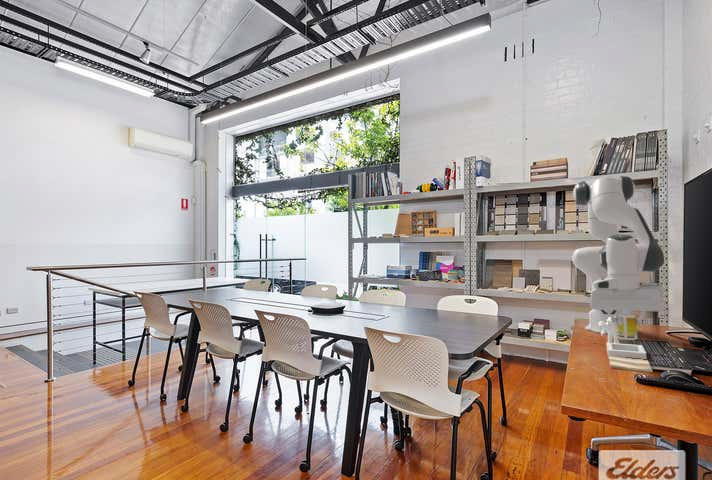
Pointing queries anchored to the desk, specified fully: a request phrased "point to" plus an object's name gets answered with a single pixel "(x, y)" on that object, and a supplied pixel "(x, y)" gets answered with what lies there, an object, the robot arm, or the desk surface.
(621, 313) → the supplement bottle
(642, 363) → the birch board
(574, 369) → the desk surface
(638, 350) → the white rectangular frame
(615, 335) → the hat wearing toy figure
